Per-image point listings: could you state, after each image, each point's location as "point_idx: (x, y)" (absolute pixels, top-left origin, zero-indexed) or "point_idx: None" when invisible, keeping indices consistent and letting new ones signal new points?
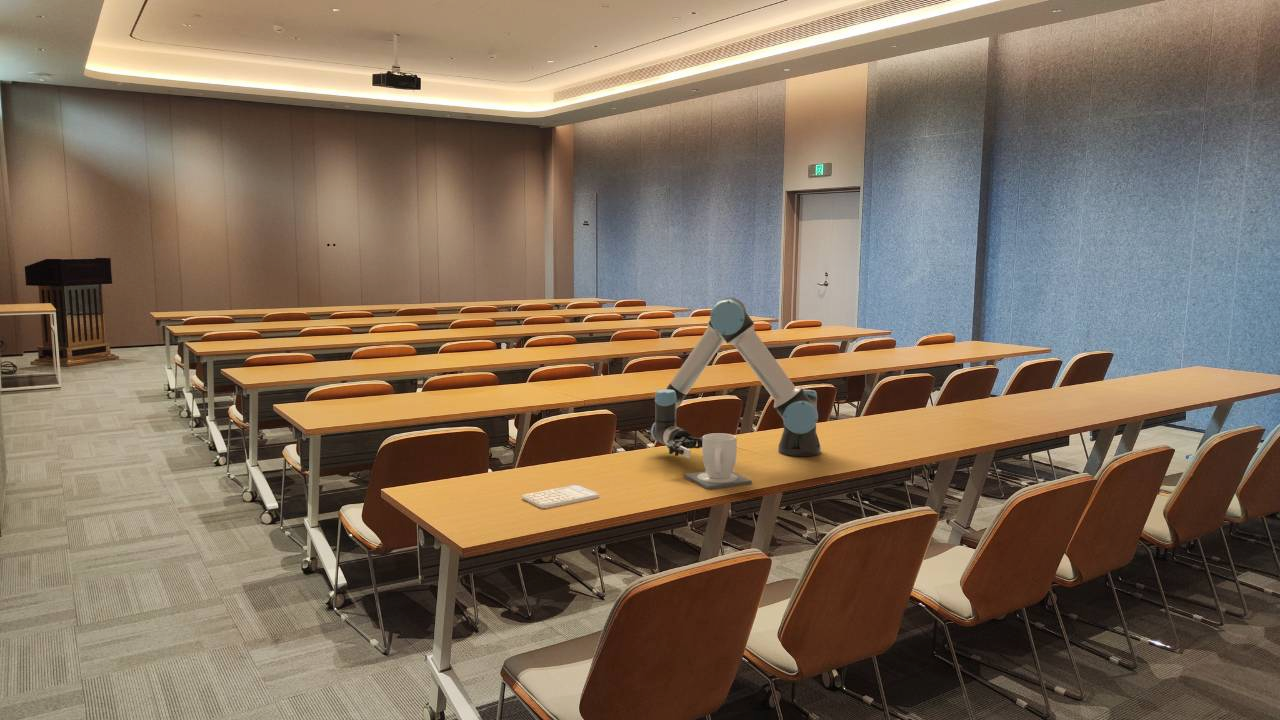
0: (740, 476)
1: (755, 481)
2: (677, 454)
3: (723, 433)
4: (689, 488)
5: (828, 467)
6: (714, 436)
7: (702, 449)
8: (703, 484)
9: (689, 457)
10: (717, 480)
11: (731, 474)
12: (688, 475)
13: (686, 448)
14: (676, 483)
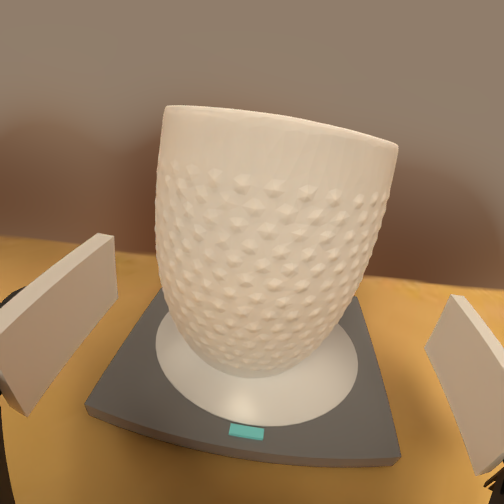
0: (163, 300)
1: (144, 279)
2: (499, 471)
3: (183, 106)
4: (405, 335)
5: None
6: (251, 140)
7: (375, 238)
8: (361, 312)
9: (432, 343)
10: None
11: (170, 329)
12: (384, 426)
13: (481, 330)
14: (441, 393)
